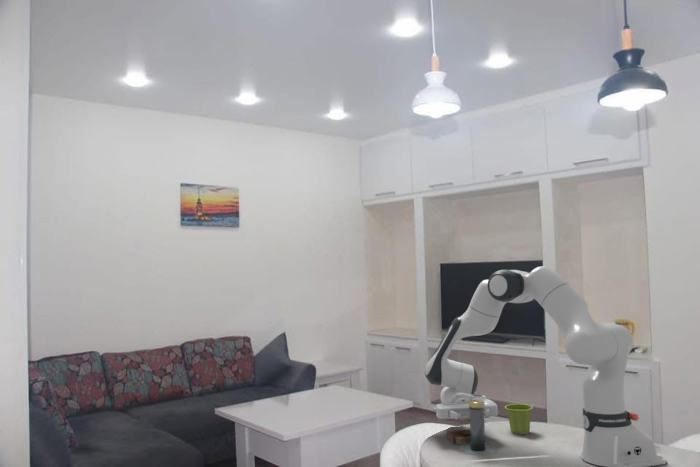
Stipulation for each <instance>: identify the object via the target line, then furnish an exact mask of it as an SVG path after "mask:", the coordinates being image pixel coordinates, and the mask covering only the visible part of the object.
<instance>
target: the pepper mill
mask: <svg viewBox="0 0 700 467" xmlns="http://www.w3.org/2000/svg"><path fill="white" fill-rule="evenodd" d="M469 413H470V418H469V429H470V443H469V445H470V447H471V450H473V451H484V450H485V444H486V432H485V430H486V429H485V428H486V427H485V417H484V401H479V400H472V401H469Z"/></svg>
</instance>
